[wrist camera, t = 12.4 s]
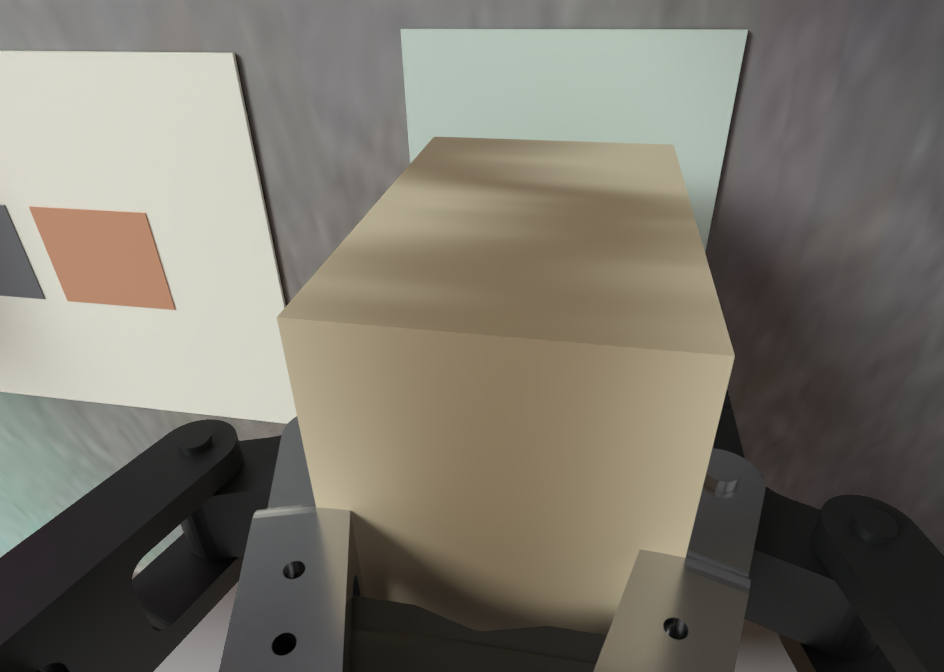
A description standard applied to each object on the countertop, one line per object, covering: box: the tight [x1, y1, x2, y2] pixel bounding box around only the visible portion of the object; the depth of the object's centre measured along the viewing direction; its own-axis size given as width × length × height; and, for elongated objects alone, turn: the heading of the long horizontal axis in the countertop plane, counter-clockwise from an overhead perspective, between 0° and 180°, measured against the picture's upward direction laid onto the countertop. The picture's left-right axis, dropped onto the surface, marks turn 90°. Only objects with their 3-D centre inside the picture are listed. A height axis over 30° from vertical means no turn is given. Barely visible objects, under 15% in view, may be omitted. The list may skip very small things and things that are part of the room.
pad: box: [401, 29, 748, 252], centre depth 16 cm, size 12×7×1 cm, turn 1°
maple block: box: [277, 137, 735, 635], centre depth 12 cm, size 4×9×7 cm, turn 1°
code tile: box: [0, 51, 297, 424], centre depth 19 cm, size 11×15×1 cm
